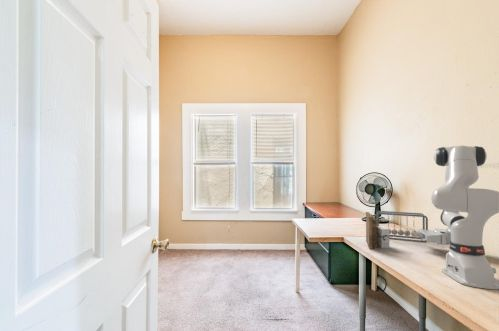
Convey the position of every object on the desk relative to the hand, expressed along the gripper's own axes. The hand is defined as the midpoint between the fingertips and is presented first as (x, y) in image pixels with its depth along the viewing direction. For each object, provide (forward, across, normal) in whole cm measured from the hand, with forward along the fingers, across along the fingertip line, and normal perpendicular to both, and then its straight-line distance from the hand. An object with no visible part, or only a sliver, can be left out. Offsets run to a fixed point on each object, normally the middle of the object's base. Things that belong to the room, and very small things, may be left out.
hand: (412, 234), depth 160 cm
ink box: (+16, 0, +9) cm, 19 cm away
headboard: (+23, -1, +9) cm, 24 cm away
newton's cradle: (+1, -26, +8) cm, 27 cm away
